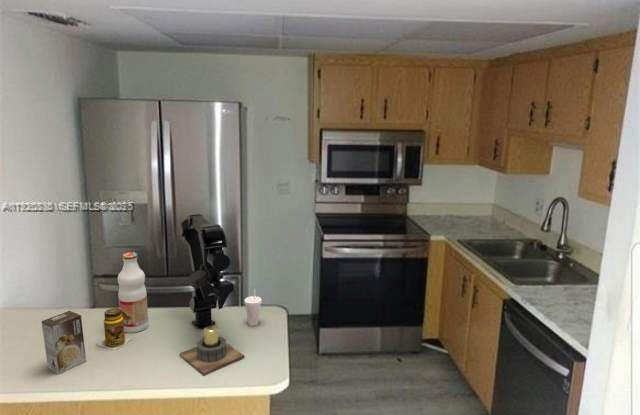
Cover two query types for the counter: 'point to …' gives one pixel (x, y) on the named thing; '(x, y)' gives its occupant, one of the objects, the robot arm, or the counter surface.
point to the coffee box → (64, 341)
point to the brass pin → (211, 337)
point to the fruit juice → (132, 295)
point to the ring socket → (211, 356)
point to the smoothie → (253, 309)
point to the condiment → (113, 330)
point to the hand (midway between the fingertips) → (212, 304)
